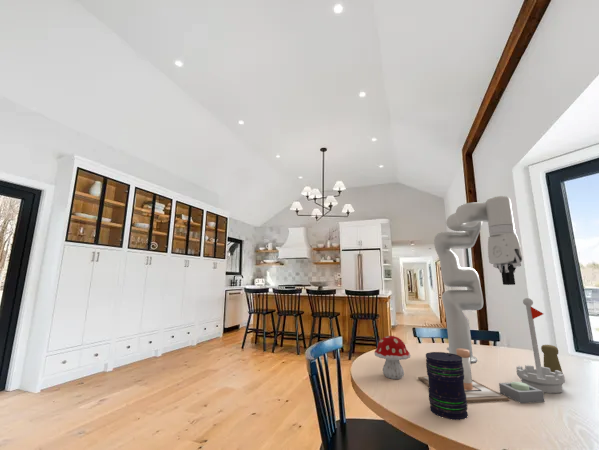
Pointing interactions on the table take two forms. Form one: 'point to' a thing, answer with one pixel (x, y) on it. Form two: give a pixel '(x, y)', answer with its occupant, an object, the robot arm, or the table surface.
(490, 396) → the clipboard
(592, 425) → the table surface
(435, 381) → the navy striped cylinder
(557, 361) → the cork
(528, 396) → the button housing
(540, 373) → the flag stand
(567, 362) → the table surface
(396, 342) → the decorative mushroom
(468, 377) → the marker
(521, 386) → the button
